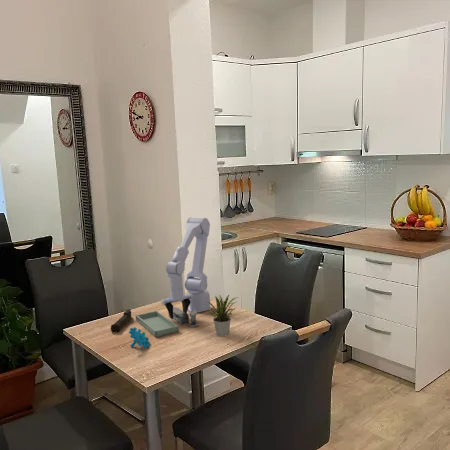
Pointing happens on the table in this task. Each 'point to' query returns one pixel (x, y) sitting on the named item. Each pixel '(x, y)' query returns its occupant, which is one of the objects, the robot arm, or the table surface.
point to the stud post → (193, 319)
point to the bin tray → (156, 323)
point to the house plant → (222, 316)
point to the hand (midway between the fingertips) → (178, 316)
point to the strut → (180, 316)
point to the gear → (139, 338)
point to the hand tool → (121, 321)
